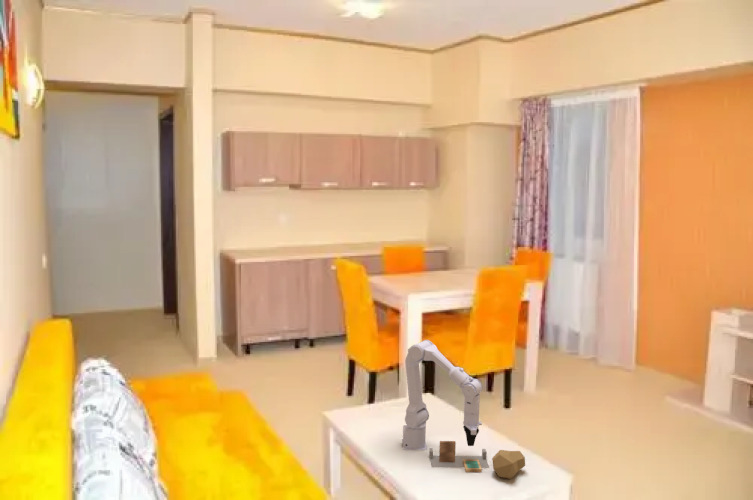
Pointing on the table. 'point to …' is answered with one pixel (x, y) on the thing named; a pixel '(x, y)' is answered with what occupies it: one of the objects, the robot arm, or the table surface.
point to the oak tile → (472, 465)
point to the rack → (457, 460)
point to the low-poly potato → (508, 463)
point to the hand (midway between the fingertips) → (470, 445)
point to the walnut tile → (447, 451)
